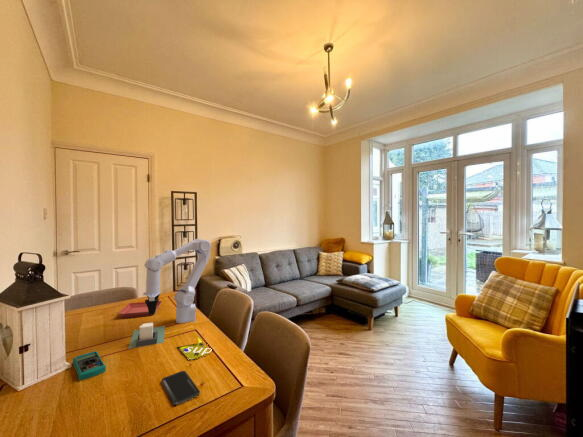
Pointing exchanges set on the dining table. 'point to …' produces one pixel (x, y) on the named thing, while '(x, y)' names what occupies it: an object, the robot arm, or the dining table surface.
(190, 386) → the phone
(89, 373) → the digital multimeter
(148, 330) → the keyed plug
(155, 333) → the board
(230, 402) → the dining table surface
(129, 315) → the plant saucer
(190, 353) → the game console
